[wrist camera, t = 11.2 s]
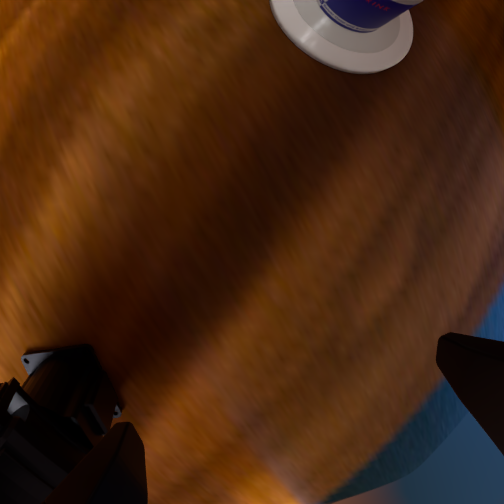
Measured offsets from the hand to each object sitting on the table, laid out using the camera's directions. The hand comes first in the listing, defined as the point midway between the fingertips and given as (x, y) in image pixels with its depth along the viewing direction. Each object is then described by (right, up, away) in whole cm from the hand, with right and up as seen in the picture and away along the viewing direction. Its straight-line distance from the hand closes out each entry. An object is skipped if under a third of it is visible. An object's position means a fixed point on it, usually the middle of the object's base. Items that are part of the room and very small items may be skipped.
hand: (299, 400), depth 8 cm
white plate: (+5, +21, +10) cm, 24 cm away
